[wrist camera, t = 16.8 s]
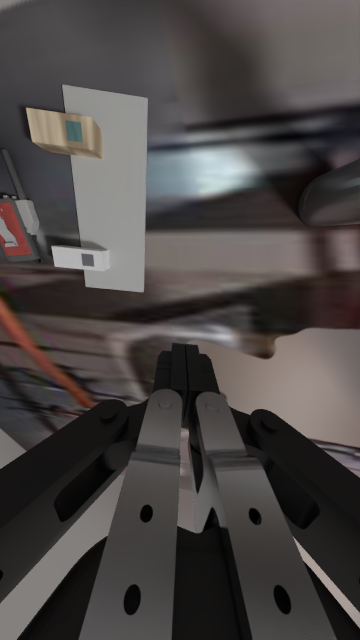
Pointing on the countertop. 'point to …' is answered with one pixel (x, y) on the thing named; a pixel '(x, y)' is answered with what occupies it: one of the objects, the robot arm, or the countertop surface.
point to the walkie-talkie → (18, 223)
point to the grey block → (80, 258)
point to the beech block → (65, 133)
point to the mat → (112, 185)
